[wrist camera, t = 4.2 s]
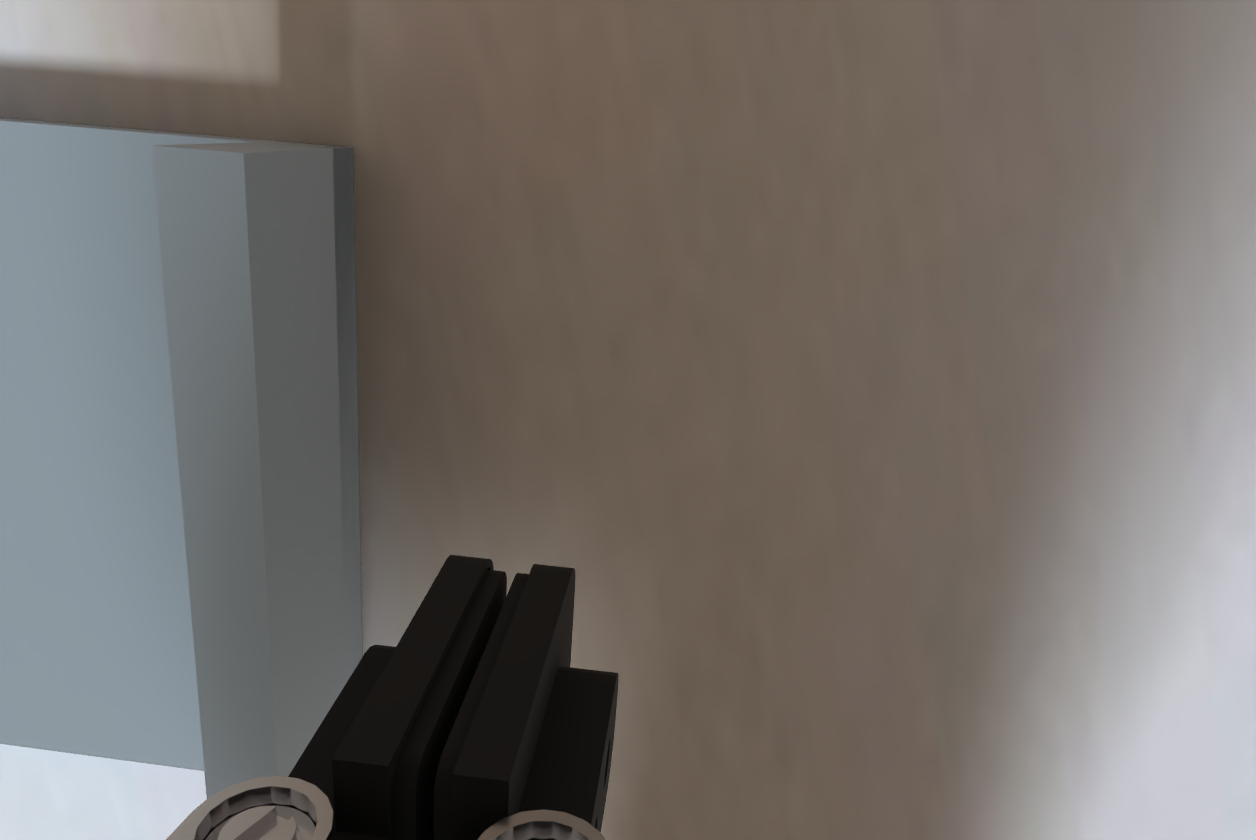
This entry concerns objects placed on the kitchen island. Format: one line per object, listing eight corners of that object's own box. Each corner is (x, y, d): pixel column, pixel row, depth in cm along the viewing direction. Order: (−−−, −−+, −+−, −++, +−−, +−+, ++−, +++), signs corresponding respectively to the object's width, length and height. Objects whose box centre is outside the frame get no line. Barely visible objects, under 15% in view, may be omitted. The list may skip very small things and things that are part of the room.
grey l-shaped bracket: (357, 147, 17) (243, 153, 13) (368, 755, 22) (284, 904, 18) (-131, 106, 18) (-386, 100, 14) (-26, 704, 22) (-196, 835, 18)
